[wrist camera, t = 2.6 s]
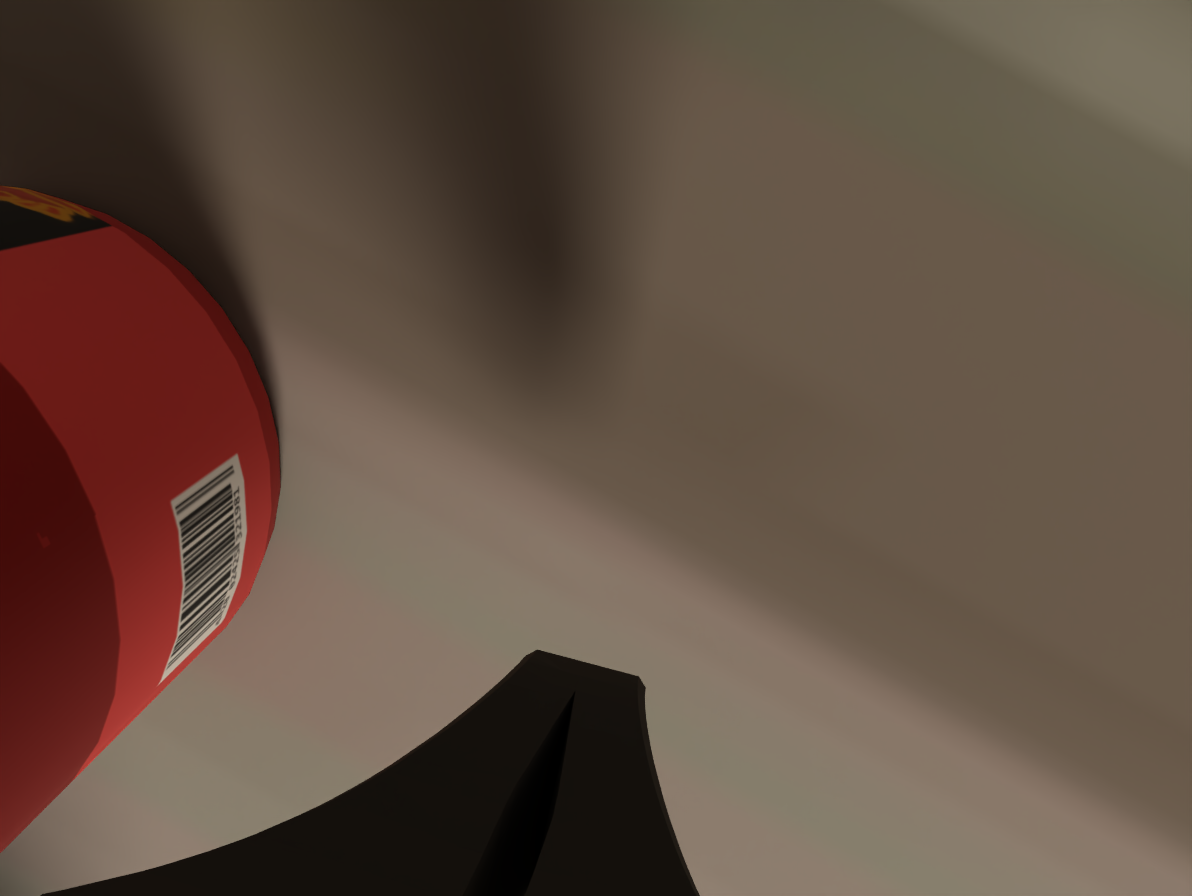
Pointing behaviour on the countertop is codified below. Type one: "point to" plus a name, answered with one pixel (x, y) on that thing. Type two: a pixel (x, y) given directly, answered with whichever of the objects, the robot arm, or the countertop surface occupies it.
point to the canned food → (113, 485)
